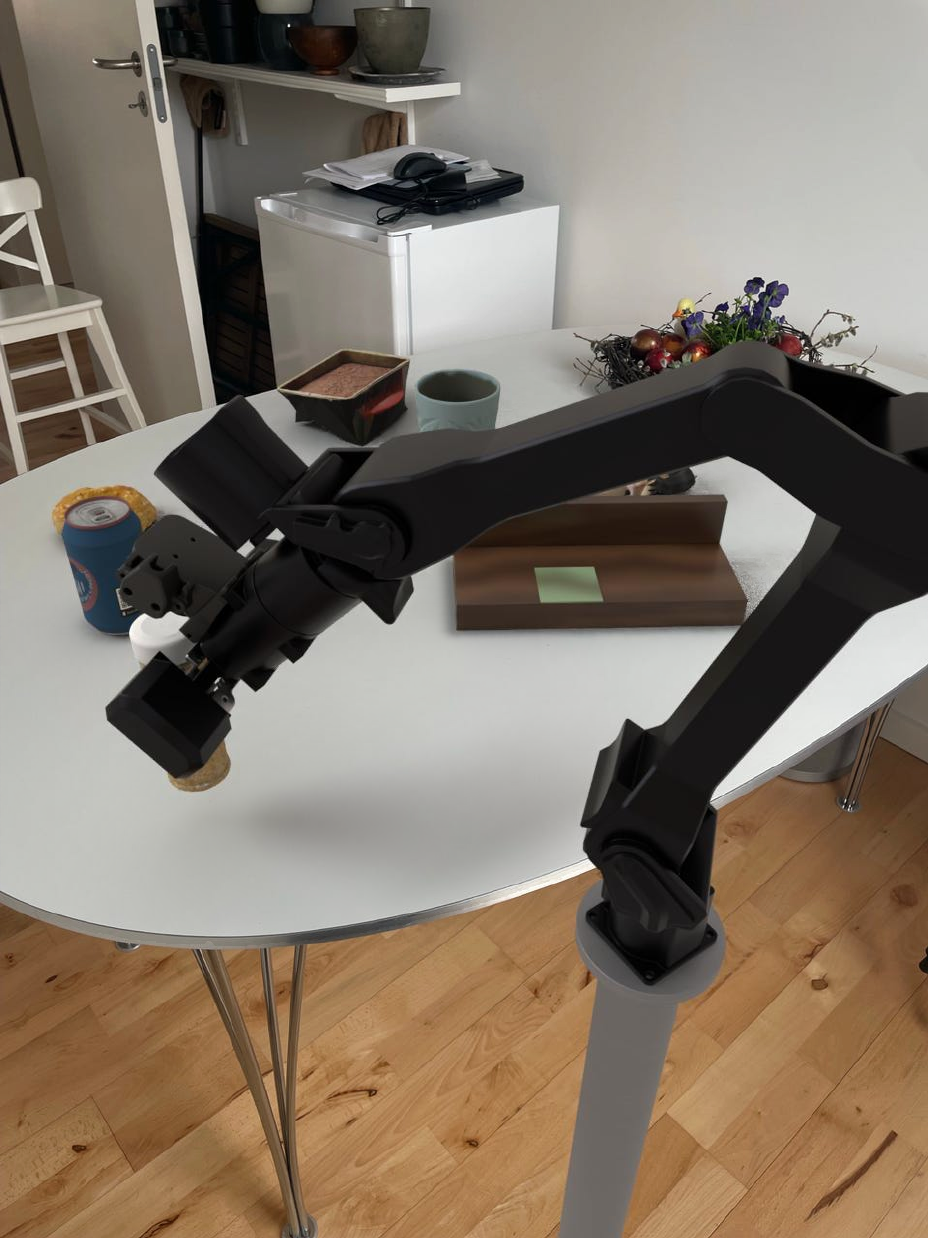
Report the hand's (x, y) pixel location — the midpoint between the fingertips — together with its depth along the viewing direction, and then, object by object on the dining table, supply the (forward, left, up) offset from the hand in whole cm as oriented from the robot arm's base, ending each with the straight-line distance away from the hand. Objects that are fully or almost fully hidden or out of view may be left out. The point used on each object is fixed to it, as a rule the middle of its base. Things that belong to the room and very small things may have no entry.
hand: (166, 700), depth 65 cm
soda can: (+28, -4, -11) cm, 31 cm away
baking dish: (+57, -45, -12) cm, 73 cm away
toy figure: (+18, -62, -12) cm, 65 cm away
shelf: (+6, -45, -11) cm, 47 cm away
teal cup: (+35, -48, -11) cm, 60 cm away
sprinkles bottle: (-1, -1, -7) cm, 7 cm away
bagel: (+46, -8, -12) cm, 48 cm away
